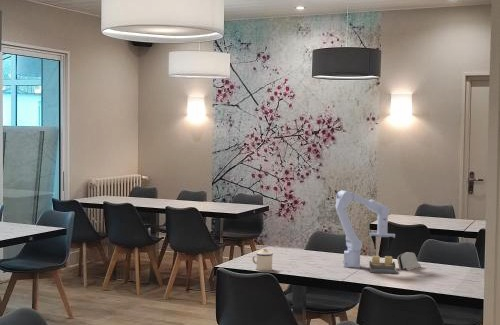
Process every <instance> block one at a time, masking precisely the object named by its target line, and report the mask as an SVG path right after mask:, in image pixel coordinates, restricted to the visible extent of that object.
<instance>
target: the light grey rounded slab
mask: <svg viewBox="0 0 500 325" xmlns="http://www.w3.org/2000/svg"><path fill="white" fill-rule="evenodd" d="M396 260H397V264H398V265H397V266H398V269H399V270H406V271H407V270H408V271H410V270H411V269H412V270H415V269H414V268H416V269H418V267H419V268H421V267H422V266H421V263H420V262H418V261H419V260H418V258H417V256H416V254H415V252H412V251H411V252H410V251H409V252H408V251H407V252H404V253H401V254H399V255H398V256H397V257H396Z"/></svg>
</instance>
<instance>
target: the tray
mask: <svg viewBox="0 0 500 325" xmlns="http://www.w3.org/2000/svg"><path fill="white" fill-rule="evenodd" d="M369 273H371V274H386V275H387V274H391V275H397V268H396V266H395V267H384V266H370V268H369Z"/></svg>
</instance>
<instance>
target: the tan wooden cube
mask: <svg viewBox="0 0 500 325" xmlns="http://www.w3.org/2000/svg"><path fill="white" fill-rule="evenodd" d="M384 263H385V264H390V265H392V263H393V256H390V255H385V256H384Z"/></svg>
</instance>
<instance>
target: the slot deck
mask: <svg viewBox="0 0 500 325" xmlns="http://www.w3.org/2000/svg"><path fill="white" fill-rule="evenodd" d="M368 263H369V264H368V267H369V269H370V266H384V267H395V268H396V263H395V261H392V265H390V264H385V262H380V264H372V260H369V262H368Z"/></svg>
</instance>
